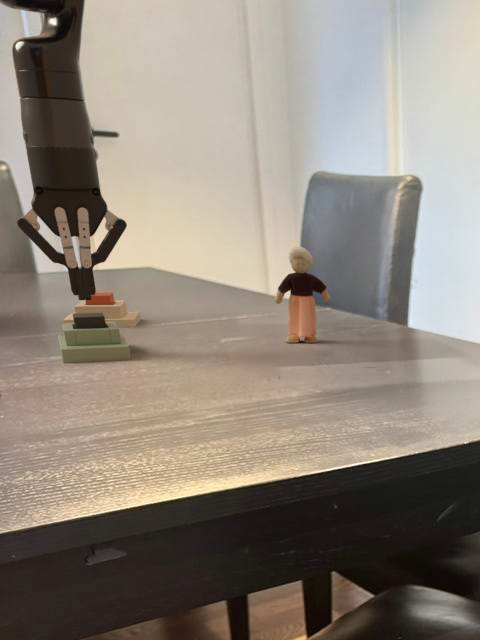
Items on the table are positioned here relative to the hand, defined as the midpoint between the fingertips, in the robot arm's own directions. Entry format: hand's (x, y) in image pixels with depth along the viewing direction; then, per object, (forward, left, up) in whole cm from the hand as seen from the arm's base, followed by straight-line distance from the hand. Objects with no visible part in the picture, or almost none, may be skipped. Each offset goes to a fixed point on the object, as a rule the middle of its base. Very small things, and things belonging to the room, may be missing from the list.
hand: (84, 299), depth 115 cm
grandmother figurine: (+12, +26, -7) cm, 30 cm away
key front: (0, 0, -4) cm, 4 cm away
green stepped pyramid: (0, 0, -7) cm, 7 cm away
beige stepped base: (-21, +15, -7) cm, 27 cm away
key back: (-21, +15, -4) cm, 26 cm away
